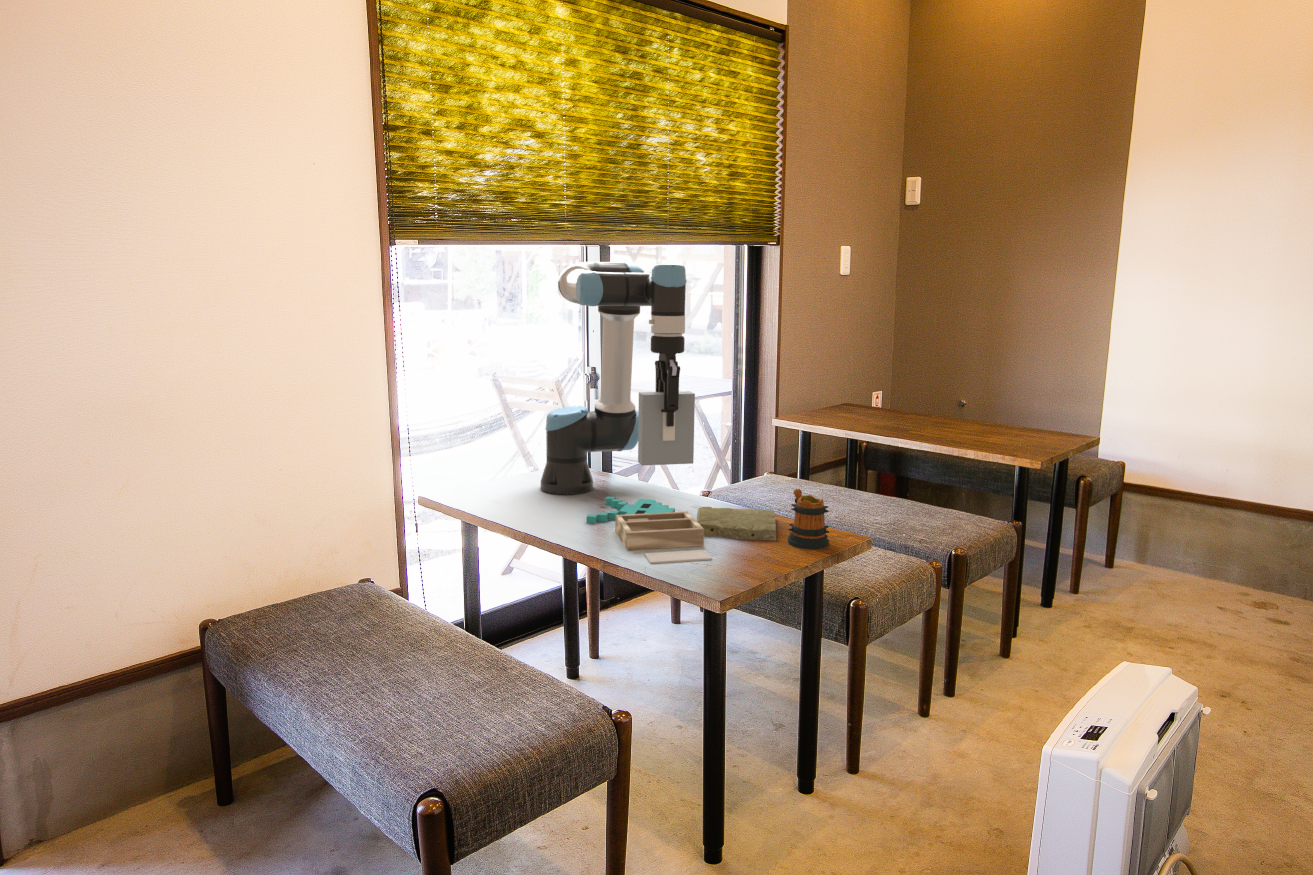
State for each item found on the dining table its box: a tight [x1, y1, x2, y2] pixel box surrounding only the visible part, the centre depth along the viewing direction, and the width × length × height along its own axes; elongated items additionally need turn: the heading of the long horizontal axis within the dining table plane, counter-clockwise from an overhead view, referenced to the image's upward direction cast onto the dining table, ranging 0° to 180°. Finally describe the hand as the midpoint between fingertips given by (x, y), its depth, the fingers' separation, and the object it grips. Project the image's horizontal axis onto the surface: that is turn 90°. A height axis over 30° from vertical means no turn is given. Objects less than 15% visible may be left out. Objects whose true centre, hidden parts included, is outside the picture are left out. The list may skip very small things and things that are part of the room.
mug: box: [787, 488, 830, 551], centre depth 207 cm, size 13×10×12 cm
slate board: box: [637, 390, 696, 466], centre depth 199 cm, size 4×12×16 cm, turn 103°
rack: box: [614, 510, 705, 551], centre depth 208 cm, size 15×18×4 cm
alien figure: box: [586, 495, 676, 525], centre depth 227 cm, size 20×2×20 cm
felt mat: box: [643, 549, 713, 565], centre depth 195 cm, size 6×14×1 cm, turn 103°
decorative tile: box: [696, 506, 777, 541], centre depth 218 cm, size 19×20×4 cm
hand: (666, 438), depth 199 cm, fingers closed on slate board, 4 cm apart
